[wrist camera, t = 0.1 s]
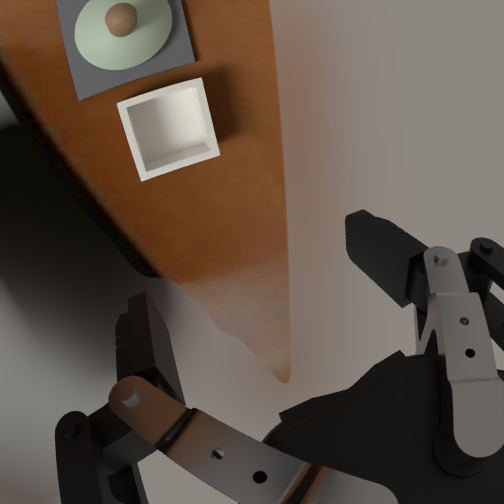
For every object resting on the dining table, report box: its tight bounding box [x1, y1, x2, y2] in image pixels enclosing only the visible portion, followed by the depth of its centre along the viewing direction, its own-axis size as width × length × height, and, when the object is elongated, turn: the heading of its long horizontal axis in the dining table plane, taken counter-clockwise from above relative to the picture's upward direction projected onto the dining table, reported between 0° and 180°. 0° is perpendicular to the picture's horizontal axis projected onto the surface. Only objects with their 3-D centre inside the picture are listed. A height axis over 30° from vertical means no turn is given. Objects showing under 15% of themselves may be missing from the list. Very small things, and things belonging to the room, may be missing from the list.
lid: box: [75, 0, 172, 70], centre depth 23 cm, size 11×11×5 cm
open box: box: [117, 77, 220, 181], centre depth 32 cm, size 9×9×5 cm
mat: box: [56, 0, 195, 101], centre depth 26 cm, size 14×14×1 cm
